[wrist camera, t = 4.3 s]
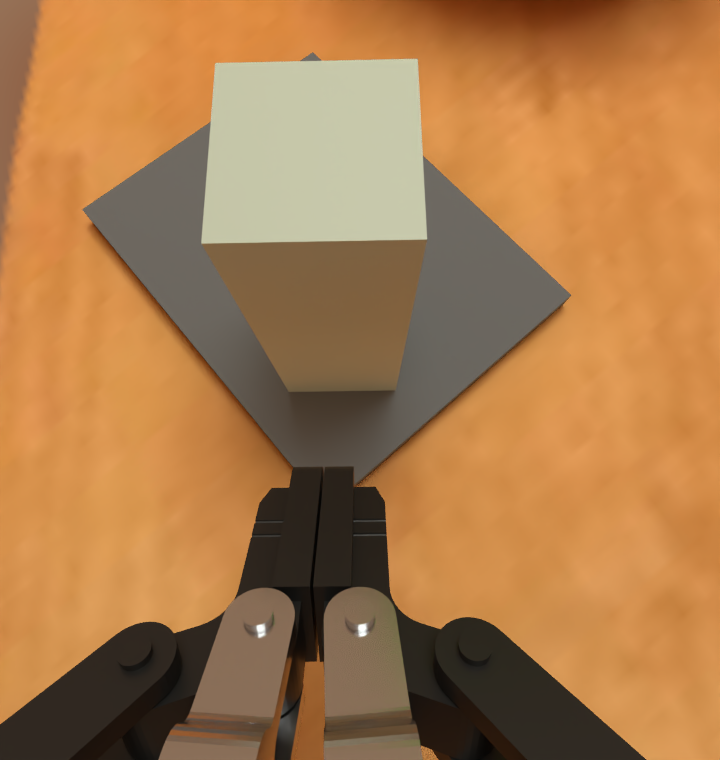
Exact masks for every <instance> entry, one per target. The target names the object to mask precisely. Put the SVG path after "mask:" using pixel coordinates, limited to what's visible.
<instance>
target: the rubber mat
mask: <svg viewBox="0 0 720 760" xmlns="http://www.w3.org/2000/svg"><path fill="white" fill-rule="evenodd" d="M301 61H321V60H320V59H319V58H318V57H317V56H316V55H315V54H314V53H311V54H310V55H308V56H307V57H305V58H304V59H302V60H301ZM210 125H211V122H210V123H208V124H207V125H205V126H204V127H203V128H201V129H200V130H198V131H197V132H195V133H194V134H192V135H191V136H189V137H188V138H186V139H185V140H183V141H182V142H181V143H179V144H178V145H176V146H175V147H173V148H172V149H170V150H169V151H167V152H166V153H164V154H163V155H161V156H160V157H159V158H157V159H156V160H154V161H153V162H151V163H150V164H148V165H147V166H145V167H144V168H142V169H141V170H139V171H138V172H137V173H135V174H134V175H132V176H131V177H129V178H128V179H126V180H125V181H123V182H122V183H120V184H119V185H117V186H116V187H115V188H113V189H112V190H110V191H109V192H107V193H106V194H104V195H103V196H101V197H100V198H98V199H97V200H95V201H94V202H93V203H91V204H90V205H88V206H87V207H85V208H84V209H82V210H83V211H84V212H85V214H86V215H87V216H88V217H89V218H90V220H91V221H92V222H93V223H94V225H95V226H96V227H97V228H98V229H99V231H100V232H101V233H102V234H103V236H104V237H105V238H106V239H107V240H108V242H109V243H110V244H111V245H112V247H113V248H114V249H115V250H116V251H117V253H118V254H119V255H120V256H121V258H122V259H123V260H124V261H125V262H126V264H127V265H128V266H129V267H130V269H131V270H132V271H133V272H134V273H135V275H136V276H137V277H138V278H139V280H140V281H141V282H142V283H143V284H144V286H145V287H146V288H147V289H148V291H149V292H150V293H151V294H152V295H153V297H154V298H155V299H156V300H157V302H158V303H159V304H160V305H161V306H162V308H163V309H164V310H165V311H166V313H167V314H168V315H169V316H170V317H171V319H172V320H173V321H174V322H175V324H176V325H177V326H178V327H179V328H180V330H181V331H182V332H183V333H184V335H185V336H186V337H187V338H188V339H189V341H190V342H191V343H192V344H193V346H194V347H195V348H196V349H197V350H198V352H199V353H200V354H201V355H202V357H203V358H204V359H205V360H206V361H207V363H208V364H209V365H210V366H211V368H212V369H213V370H214V371H215V372H216V374H217V375H218V376H219V377H220V379H221V380H222V381H223V382H224V383H225V385H226V386H227V387H228V388H229V390H230V391H231V392H232V393H233V394H234V396H235V397H236V398H237V399H238V401H239V402H240V403H241V404H242V405H243V407H244V408H245V409H246V410H247V412H248V413H249V414H250V415H251V416H252V418H253V419H254V420H255V421H256V423H257V424H258V425H259V426H260V427H261V429H262V430H263V431H264V432H265V434H266V435H267V436H268V437H269V438H270V440H271V441H272V442H273V443H274V445H275V446H276V447H277V448H278V449H279V451H280V452H281V453H282V454H283V456H284V457H285V458H286V459H287V460H288V462H289V463H290V464H291V465H292V467H323V470H324V469H325V467H334V466H354V482H355V486H356V485H357V484H358V483H360V482H361V481H362V480H363V479H364V478H365V477H366V476H368V475H369V474H370V473H371V472H372V471H373V470H374V469H376V468H377V467H378V466H379V465H380V464H381V463H382V462H384V461H385V460H386V459H387V458H388V457H389V456H390V455H392V454H393V453H394V452H395V451H396V450H397V449H398V448H400V447H401V446H402V445H403V444H404V443H405V442H406V441H408V440H409V439H410V438H411V437H412V436H413V435H414V434H416V433H417V432H418V431H419V430H420V429H421V428H422V427H424V426H425V425H426V424H427V423H428V422H429V421H430V420H432V419H433V418H434V417H435V416H436V415H437V414H438V413H440V412H441V411H442V410H443V409H444V408H445V407H446V406H448V405H449V404H450V403H451V402H452V401H453V400H454V399H456V398H457V397H458V396H459V395H460V394H461V393H462V392H464V391H465V390H466V389H467V388H468V387H469V386H470V385H472V384H473V383H474V382H475V381H476V380H477V379H478V378H480V377H481V376H482V375H483V374H484V373H485V372H486V371H488V370H489V369H490V368H491V367H492V366H493V365H494V364H496V363H497V362H498V361H499V360H500V359H501V358H502V357H504V356H505V355H506V354H507V353H508V352H509V351H510V350H512V349H513V348H514V347H515V346H516V345H517V344H518V343H520V342H521V341H522V340H523V339H524V338H525V337H527V336H528V335H529V334H530V333H531V332H532V331H533V330H535V329H536V328H537V327H538V326H539V325H540V324H541V323H543V322H544V321H545V320H546V319H547V318H548V317H549V316H551V315H552V314H553V313H554V312H555V311H556V310H557V309H559V308H560V307H561V306H562V305H563V304H564V303H565V302H566V301H567V300H568V298H569V297H570V296H571V294H569V293H568V292H567V291H566V290H565V289H564V288H563V287H562V286H561V285H560V284H559V283H558V282H557V281H556V280H555V279H553V278H552V277H551V276H550V275H549V274H548V273H547V272H546V271H545V270H544V269H543V268H542V267H541V266H540V265H539V264H538V263H536V262H535V261H534V260H533V259H532V258H531V257H530V256H529V255H528V254H527V253H526V252H525V251H524V250H523V249H522V248H520V247H519V246H518V245H517V244H516V243H515V242H514V241H513V240H512V239H511V238H510V237H509V236H508V235H507V234H506V233H505V232H503V231H502V230H501V229H500V228H499V227H498V226H497V225H496V224H495V223H494V222H493V221H492V220H491V219H490V218H489V217H487V216H486V215H485V214H484V213H483V212H482V211H481V210H480V209H479V208H478V207H477V206H476V205H475V204H474V203H473V202H472V201H470V200H469V199H468V198H467V197H466V196H465V195H464V194H463V193H462V192H461V191H460V190H459V189H458V188H457V187H456V186H454V185H453V184H452V183H451V182H450V181H449V180H448V179H447V178H446V177H445V176H444V175H443V174H442V173H441V172H440V171H439V170H437V169H436V168H435V167H434V166H433V165H432V164H431V163H430V162H429V161H428V160H427V159H426V158H425V157H424V156H423V170H424V189H425V208H426V227H427V243H426V247H425V252H424V257H423V262H422V267H421V271H420V276H419V281H418V286H417V291H416V295H415V300H414V305H413V310H412V315H411V319H410V324H409V329H408V334H407V339H406V343H405V348H404V353H403V358H402V363H401V367H400V372H399V377H398V382H397V387H396V390H388V391H321V392H288V390H287V388H286V386H285V385H284V383H283V381H282V380H281V378H280V376H279V375H278V373H277V371H276V369H275V368H274V366H273V364H272V363H271V361H270V359H269V358H268V356H267V354H266V353H265V351H264V349H263V347H262V346H261V344H260V342H259V341H258V339H257V337H256V336H255V334H254V332H253V330H252V329H251V327H250V325H249V324H248V322H247V320H246V319H245V317H244V315H243V314H242V312H241V310H240V308H239V307H238V305H237V303H236V302H235V300H234V298H233V297H232V295H231V293H230V291H229V290H228V288H227V286H226V285H225V283H224V281H223V280H222V278H221V276H220V275H219V273H218V271H217V269H216V268H215V266H214V264H213V263H212V261H211V259H210V258H209V256H208V254H207V252H206V251H205V249H204V247H203V246H202V244H201V240H202V227H203V215H204V202H205V189H206V176H207V163H208V151H209V138H210Z"/></svg>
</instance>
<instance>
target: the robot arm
mask: <svg viewBox="0 0 720 760" xmlns="http://www.w3.org/2000/svg"><path fill="white" fill-rule="evenodd" d="M318 646H319V657H320V662H324V675H325V728H324V760H423V758H422V752H421V745H422V746H424V747H427V748H429V749H432V750H433V752H434V754H435V755H436V756H437V758H438V759H439V760H646V759H645V758H644V757H643V756H641V755H640V754H639V753H638V752H637V751H636V750H635V749H634V748H632V747H631V746H630V745H629V744H628V743H627V742H626V741H625V740H623V739H622V738H621V737H620V736H619V735H618V734H617V733H615V732H614V731H613V730H612V729H611V728H610V727H609V726H608V725H606V724H605V723H604V722H603V721H602V720H601V719H600V718H599V717H597V716H596V715H595V714H594V713H593V712H592V711H591V710H590V709H588V708H587V707H586V706H585V705H584V704H583V703H582V702H580V701H579V700H578V699H577V698H576V697H575V696H574V695H573V694H571V693H570V692H569V691H568V690H567V689H566V688H565V687H564V686H562V685H561V684H560V683H559V682H558V681H557V680H556V679H554V678H553V677H552V676H551V675H550V674H549V673H548V672H547V671H545V670H544V669H543V668H542V667H541V666H540V665H539V664H538V663H536V662H535V661H534V660H533V659H532V658H531V657H530V656H528V655H527V654H526V653H525V652H524V651H523V650H522V649H521V648H519V647H518V646H517V645H516V644H515V643H514V642H513V641H512V640H510V639H509V638H508V637H507V636H506V635H505V634H504V633H503V632H501V631H500V630H499V629H498V628H496V627H495V626H494V625H492V624H490V623H489V622H486V621H484V620H481V619H477V618H471V617H465V618H459V619H455V620H453V621H451V622H449V623H447V624H446V625H445V626H444V627H443V628H442V629H438V628H434V627H431V626H428V625H425V624H421V623H419V622H416V621H414V620H412V619H410V618H409V617H407V616H406V615H405V614H403V613H402V612H401V611H400V610H399V609H398V607H397V606H396V605H395V603H394V601H393V599H392V597H391V594H390V587H389V569H388V552H387V536H386V517H385V501H384V500H383V498H382V497H381V495H380V494H379V492H378V490H377V489H376V487H355V482H354V466H334V467H325V469H324V470H323V467H293V470H292V476H291V481H290V487H289V488H272V489H271V490H270V491H269V492H268V493H267V495H266V496H265V497H264V498H263V500H262V501H261V502H260V504H259V508H258V512H257V516H256V523H255V524H254V528H253V532H252V538H251V541H250V545H249V549H248V553H247V557H246V561H245V565H244V569H243V573H242V577H241V581H240V585H239V589H238V592H237V595H236V597H235V599H234V601H233V602H232V603H231V604H230V605H229V606H228V608H227V609H226V611H224V612H223V613H222V614H221V615H220V616H218V617H217V618H215V619H214V620H212V621H210V622H208V623H205V624H203V625H200V626H197V627H194V628H190V629H187V630H184V631H181V632H177V633H173V632H172V631H171V629H170V628H168V627H167V626H166V625H163V624H161V623H157V622H143V623H139V624H135V625H133V626H130V627H128V628H126V629H124V630H122V631H121V632H119V633H118V634H116V635H115V636H114V637H113V638H111V639H110V640H109V641H107V642H106V643H105V644H103V645H102V646H101V647H100V648H98V649H97V650H96V651H94V652H93V653H92V654H91V655H89V656H88V657H87V658H85V659H84V660H83V661H82V662H80V663H79V664H78V665H76V666H75V667H74V668H73V669H71V670H70V671H69V672H67V673H66V674H65V675H64V676H62V677H61V678H60V679H58V680H57V681H56V682H55V683H53V684H52V685H51V686H49V687H48V688H47V689H46V690H44V691H43V692H42V693H40V694H39V695H38V696H36V697H35V698H34V699H33V700H31V701H30V702H29V703H27V704H26V705H25V706H24V707H22V708H21V709H20V710H18V711H17V712H16V713H15V714H13V715H12V716H11V717H9V718H8V719H7V720H6V721H4V722H3V723H2V724H0V760H295V757H296V751H297V745H298V739H299V733H300V727H301V721H302V715H303V709H304V702H305V693H304V684H303V678H304V668H305V662H309V661H317V652H318Z"/></svg>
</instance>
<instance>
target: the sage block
mask: <svg viewBox="0 0 720 760" xmlns="http://www.w3.org/2000/svg"><path fill="white" fill-rule="evenodd" d="M426 243H427V227H426V208H425V189H424V170H423V151H422V132H421V112H420V93H419V74H418V59H383V60H337V61H291V62H244V63H215V74H214V87H213V100H212V112H211V125H210V138H209V151H208V163H207V176H206V189H205V202H204V215H203V227H202V240H201V244H202V246H203V247H204V249H205V251H206V252H207V254H208V256H209V258H210V259H211V261H212V263H213V264H214V266H215V268H216V269H217V271H218V273H219V275H220V276H221V278H222V280H223V281H224V283H225V285H226V286H227V288H228V290H229V291H230V293H231V295H232V297H233V298H234V300H235V302H236V303H237V305H238V307H239V308H240V310H241V312H242V314H243V315H244V317H245V319H246V320H247V322H248V324H249V325H250V327H251V329H252V330H253V332H254V334H255V336H256V337H257V339H258V341H259V342H260V344H261V346H262V347H263V349H264V351H265V353H266V354H267V356H268V358H269V359H270V361H271V363H272V364H273V366H274V368H275V369H276V371H277V373H278V375H279V376H280V378H281V380H282V381H283V383H284V385H285V386H286V388H287V390H288V392H321V391H388V390H396V387H397V382H398V377H399V372H400V367H401V363H402V358H403V353H404V348H405V343H406V339H407V334H408V329H409V324H410V319H411V315H412V310H413V305H414V300H415V295H416V291H417V286H418V281H419V276H420V271H421V267H422V262H423V257H424V252H425V247H426Z"/></svg>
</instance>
